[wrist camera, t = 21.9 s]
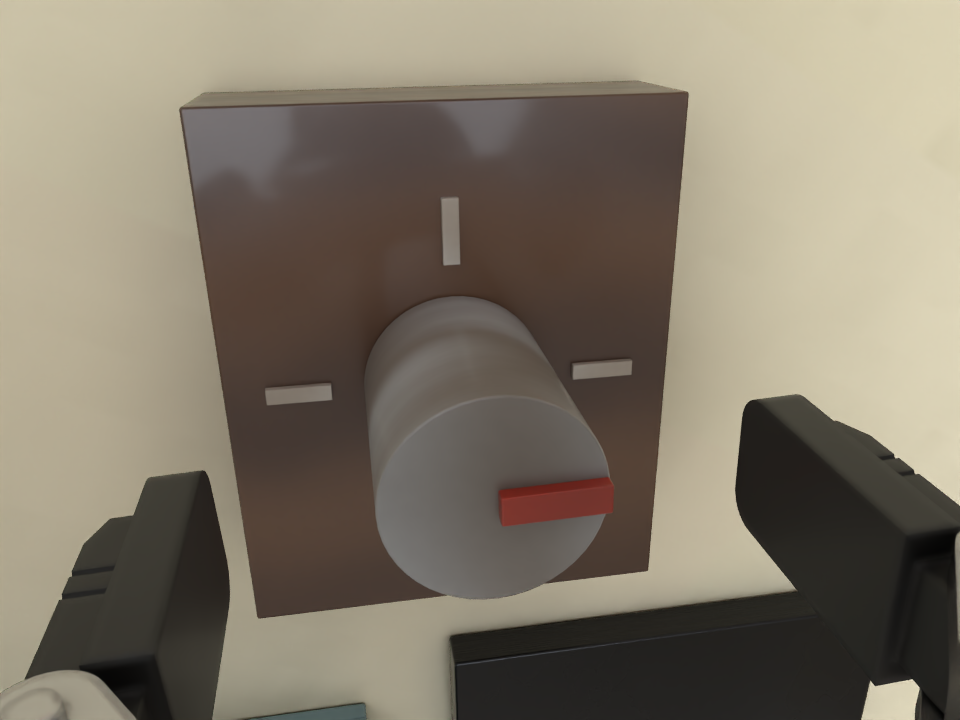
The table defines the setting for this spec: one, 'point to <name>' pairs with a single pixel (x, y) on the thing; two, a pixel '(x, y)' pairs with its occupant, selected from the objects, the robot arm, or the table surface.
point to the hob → (663, 667)
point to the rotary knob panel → (426, 290)
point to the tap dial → (478, 453)
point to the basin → (325, 714)
